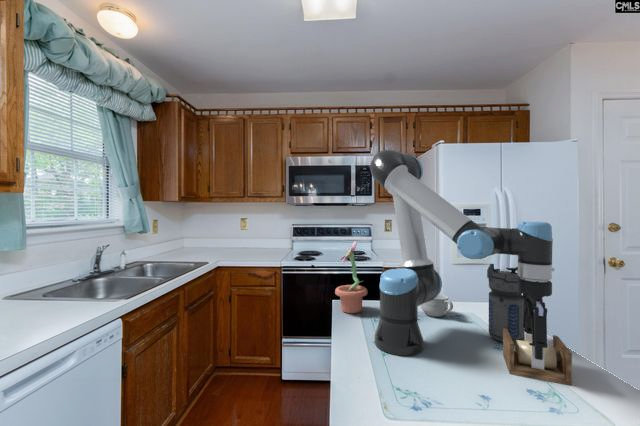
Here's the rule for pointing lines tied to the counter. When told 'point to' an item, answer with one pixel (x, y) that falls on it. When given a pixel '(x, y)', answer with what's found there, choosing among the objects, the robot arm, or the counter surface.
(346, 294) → the decorative flower
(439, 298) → the teacup
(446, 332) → the counter surface
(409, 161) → the robot arm
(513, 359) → the holder
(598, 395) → the counter surface
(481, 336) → the counter surface
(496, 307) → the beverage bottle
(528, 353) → the cylinder
